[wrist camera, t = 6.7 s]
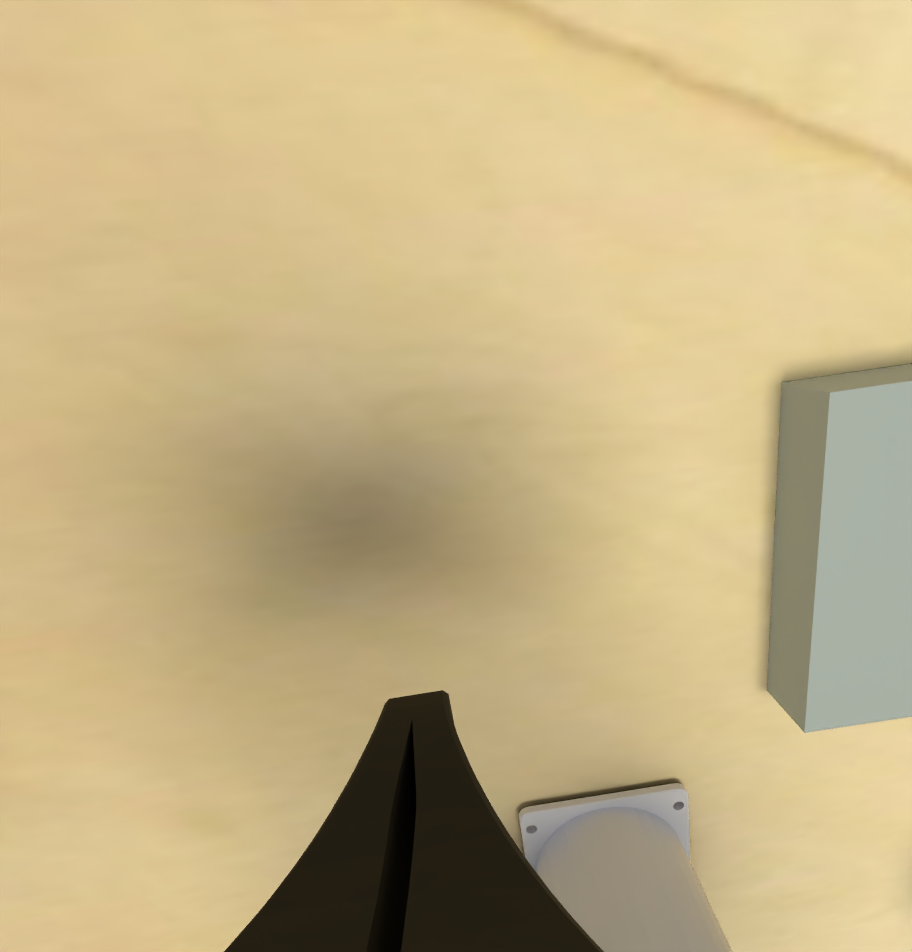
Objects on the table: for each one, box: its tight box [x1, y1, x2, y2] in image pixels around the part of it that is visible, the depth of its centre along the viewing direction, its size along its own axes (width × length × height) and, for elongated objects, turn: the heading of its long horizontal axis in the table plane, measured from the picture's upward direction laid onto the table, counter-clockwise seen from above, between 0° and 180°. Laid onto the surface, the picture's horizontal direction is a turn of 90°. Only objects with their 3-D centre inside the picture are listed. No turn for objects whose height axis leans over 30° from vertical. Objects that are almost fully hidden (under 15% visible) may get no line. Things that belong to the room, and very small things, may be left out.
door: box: [767, 364, 912, 733], centre depth 21 cm, size 14×9×3 cm, turn 8°
